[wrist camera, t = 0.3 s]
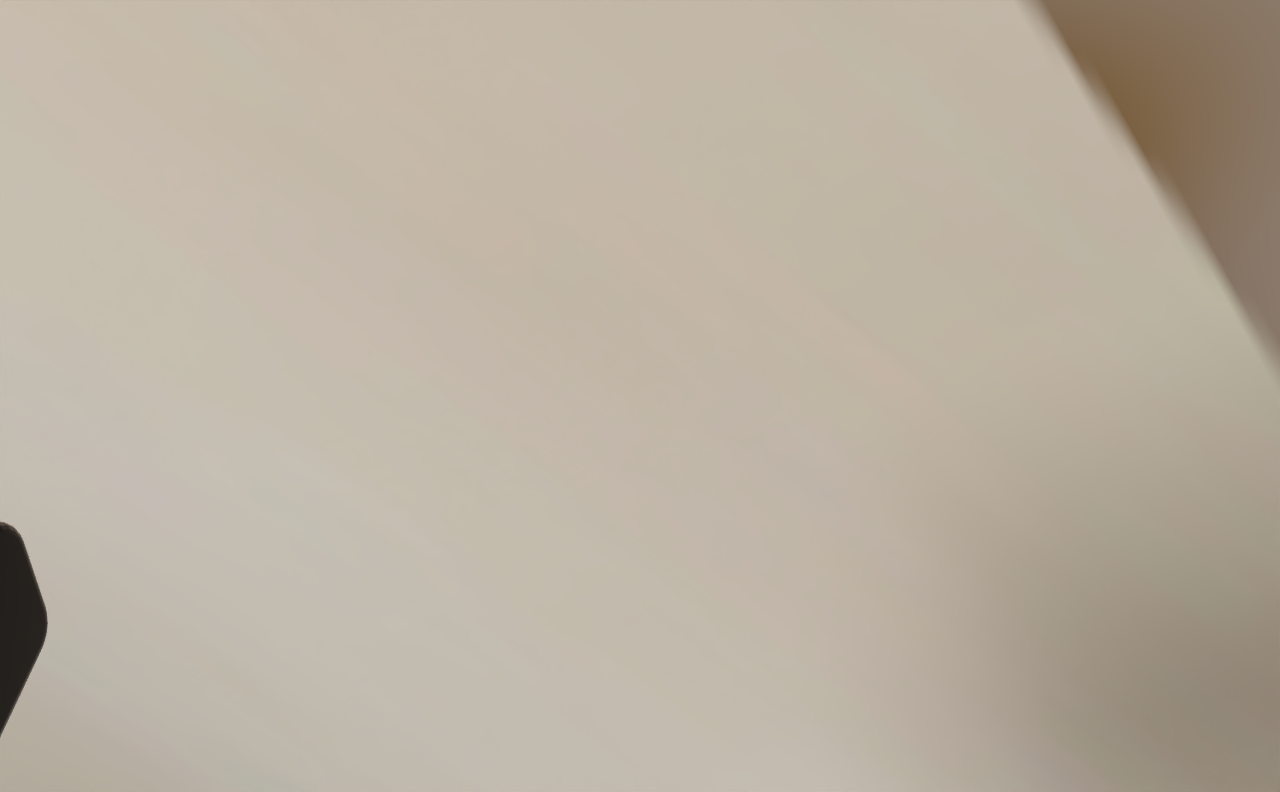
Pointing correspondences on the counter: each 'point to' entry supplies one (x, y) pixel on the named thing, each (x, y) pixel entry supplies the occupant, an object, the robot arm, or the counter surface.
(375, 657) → the counter surface
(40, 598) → the robot arm
